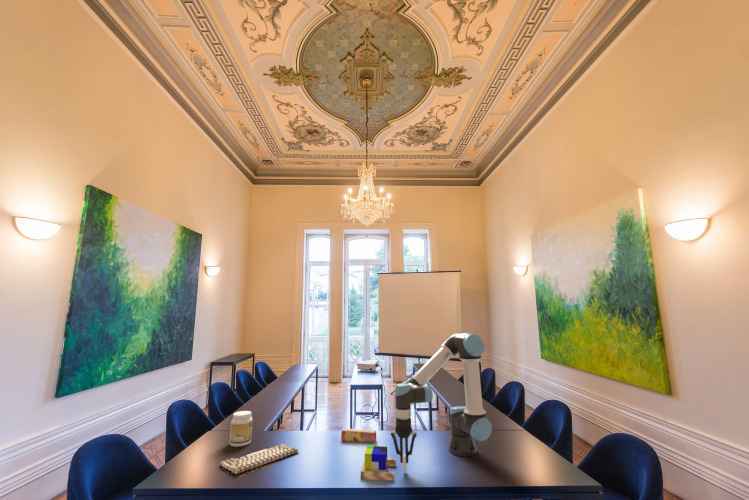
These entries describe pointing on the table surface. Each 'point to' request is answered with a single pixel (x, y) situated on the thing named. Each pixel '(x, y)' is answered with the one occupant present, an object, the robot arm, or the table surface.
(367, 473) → the wooden open frame
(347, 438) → the snack package
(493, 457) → the table surface
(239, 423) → the supplement tub
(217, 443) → the table surface
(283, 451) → the mechanical keyboard
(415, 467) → the table surface
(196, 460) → the table surface
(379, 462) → the puzzle toy
